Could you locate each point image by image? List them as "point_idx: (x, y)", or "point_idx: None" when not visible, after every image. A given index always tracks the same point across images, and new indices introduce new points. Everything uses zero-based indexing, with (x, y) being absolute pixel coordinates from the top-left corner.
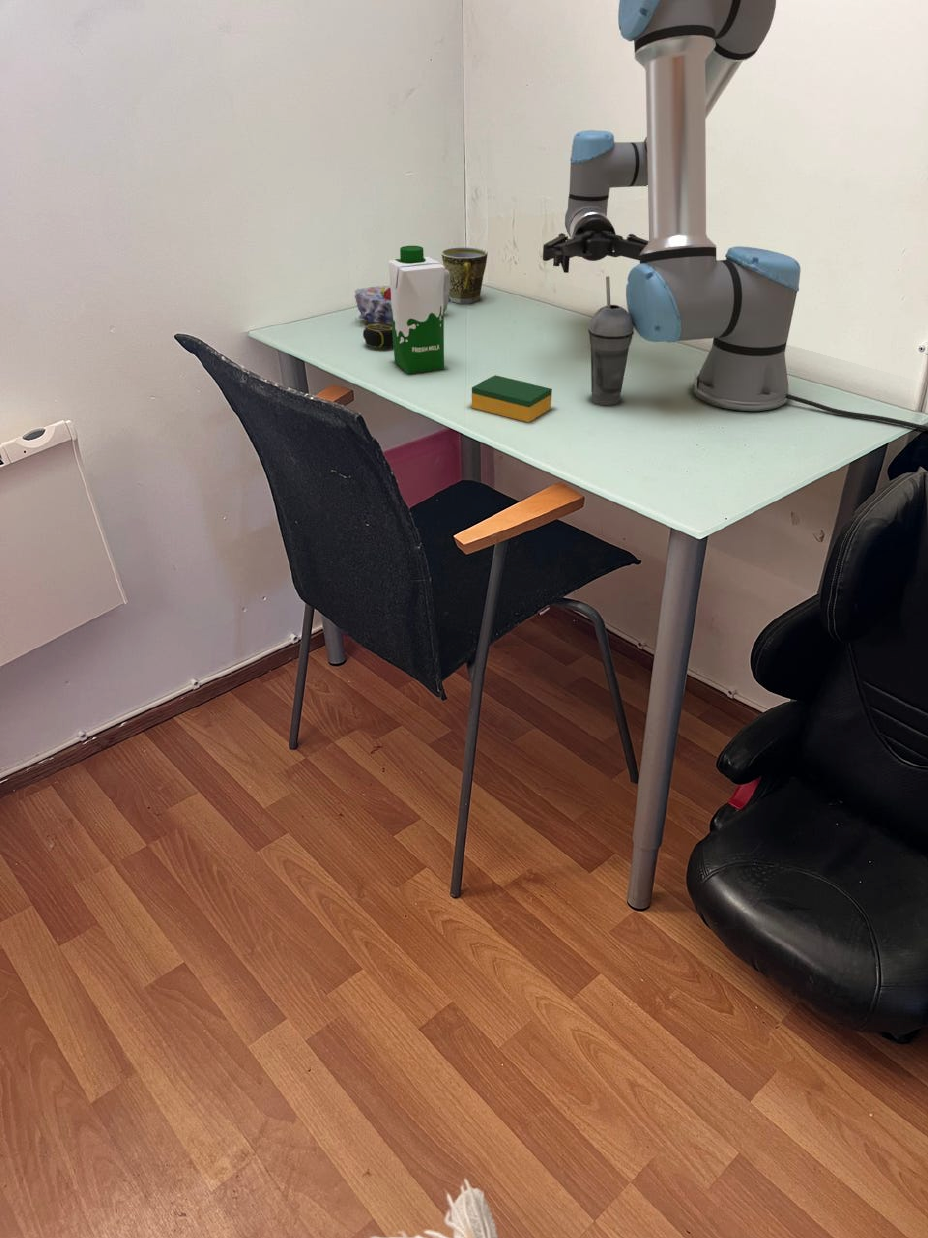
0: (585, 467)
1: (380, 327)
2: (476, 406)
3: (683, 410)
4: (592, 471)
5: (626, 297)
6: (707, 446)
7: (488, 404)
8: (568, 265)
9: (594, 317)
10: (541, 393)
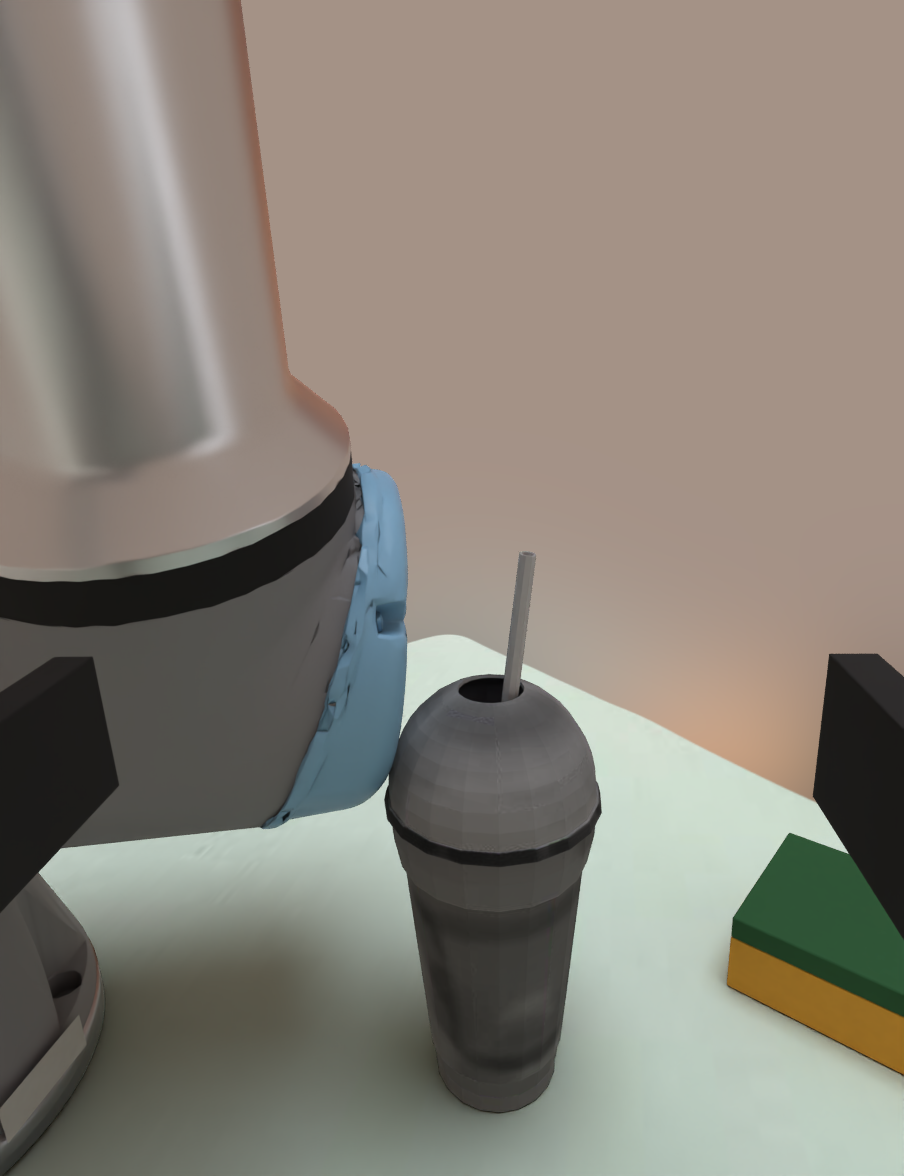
0: (601, 726)
1: None
2: None
3: (231, 956)
4: (588, 717)
5: (403, 698)
6: None
7: None
8: (825, 739)
9: (579, 727)
10: (763, 881)
